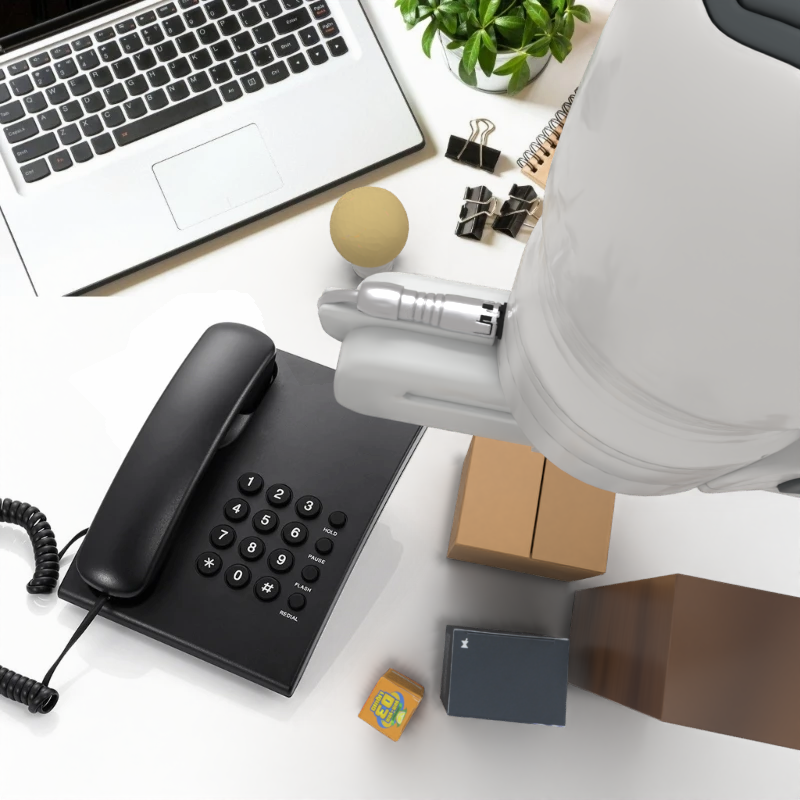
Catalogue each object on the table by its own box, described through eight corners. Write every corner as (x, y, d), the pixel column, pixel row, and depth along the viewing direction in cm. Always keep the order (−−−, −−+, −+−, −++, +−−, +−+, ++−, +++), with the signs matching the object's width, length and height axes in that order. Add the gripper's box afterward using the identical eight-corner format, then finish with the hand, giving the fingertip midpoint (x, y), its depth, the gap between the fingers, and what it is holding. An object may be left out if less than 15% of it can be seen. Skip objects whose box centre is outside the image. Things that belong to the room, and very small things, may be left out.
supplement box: (387, 663, 62) (383, 671, 53) (425, 687, 62) (428, 700, 52) (364, 702, 62) (356, 717, 52) (403, 727, 61) (402, 747, 52)
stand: (663, 607, 63) (820, 601, 39) (653, 700, 62) (811, 753, 37) (575, 590, 64) (676, 572, 40) (562, 681, 62) (660, 721, 38)
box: (439, 700, 62) (445, 716, 51) (445, 624, 63) (452, 625, 53) (541, 710, 61) (567, 729, 51) (545, 634, 63) (571, 637, 53)
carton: (446, 557, 64) (454, 544, 53) (463, 461, 67) (475, 427, 55) (570, 582, 64) (606, 574, 52) (583, 484, 66) (622, 455, 54)
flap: (455, 544, 53) (456, 543, 53) (476, 429, 55) (476, 428, 55) (528, 558, 53) (529, 558, 52) (546, 443, 55) (547, 441, 54)
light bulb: (334, 234, 72) (323, 175, 62) (405, 228, 72) (404, 167, 63) (339, 300, 70) (328, 250, 61) (412, 293, 71) (413, 242, 61)
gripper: (286, 377, 24) (330, 463, 37) (996, 511, 22) (777, 550, 36) (332, 189, 25) (358, 337, 39) (998, 304, 24) (787, 416, 37)
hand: (563, 440), depth 37 cm, fingers closed
